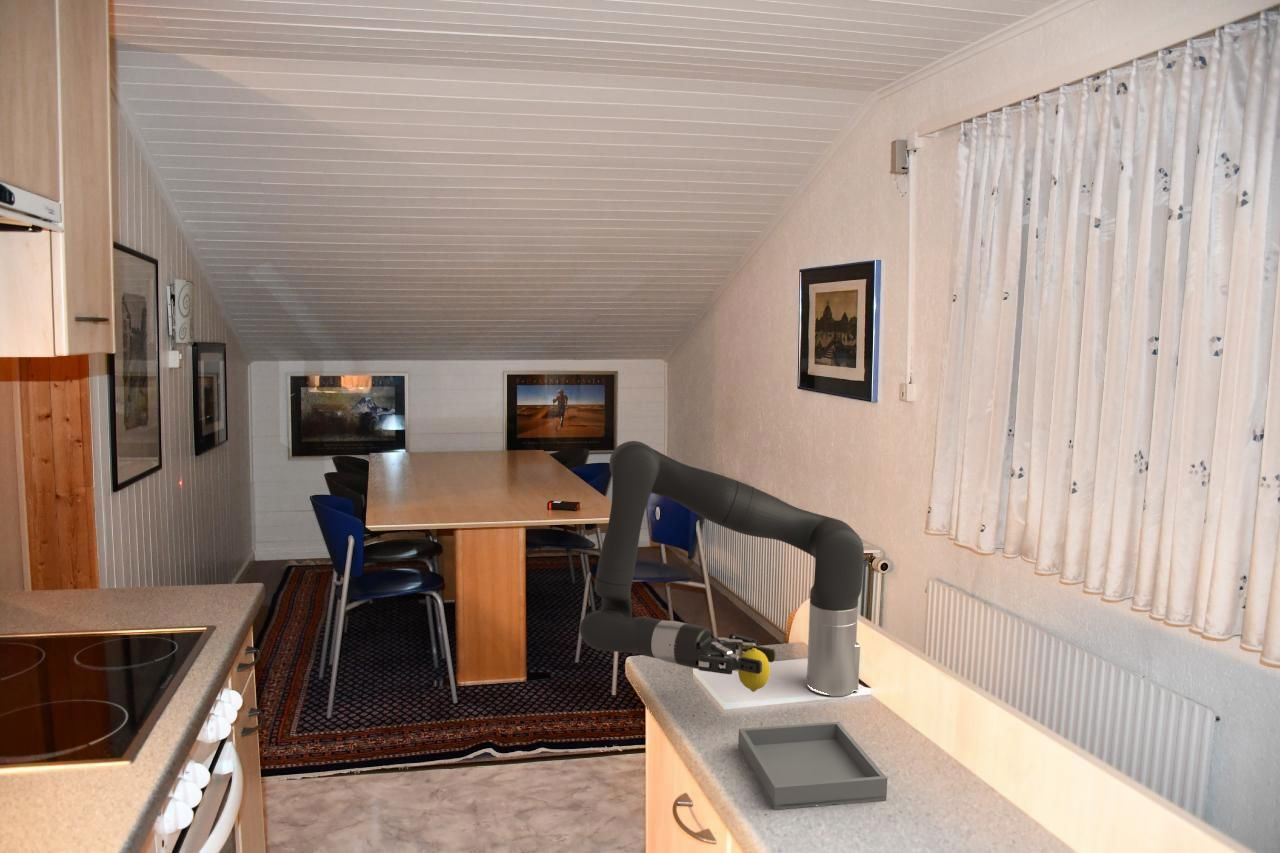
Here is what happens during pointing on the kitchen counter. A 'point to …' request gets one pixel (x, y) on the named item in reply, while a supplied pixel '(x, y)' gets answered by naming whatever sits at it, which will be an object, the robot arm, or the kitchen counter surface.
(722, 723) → the kitchen counter surface
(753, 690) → the lemon
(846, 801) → the tray
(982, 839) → the kitchen counter surface
